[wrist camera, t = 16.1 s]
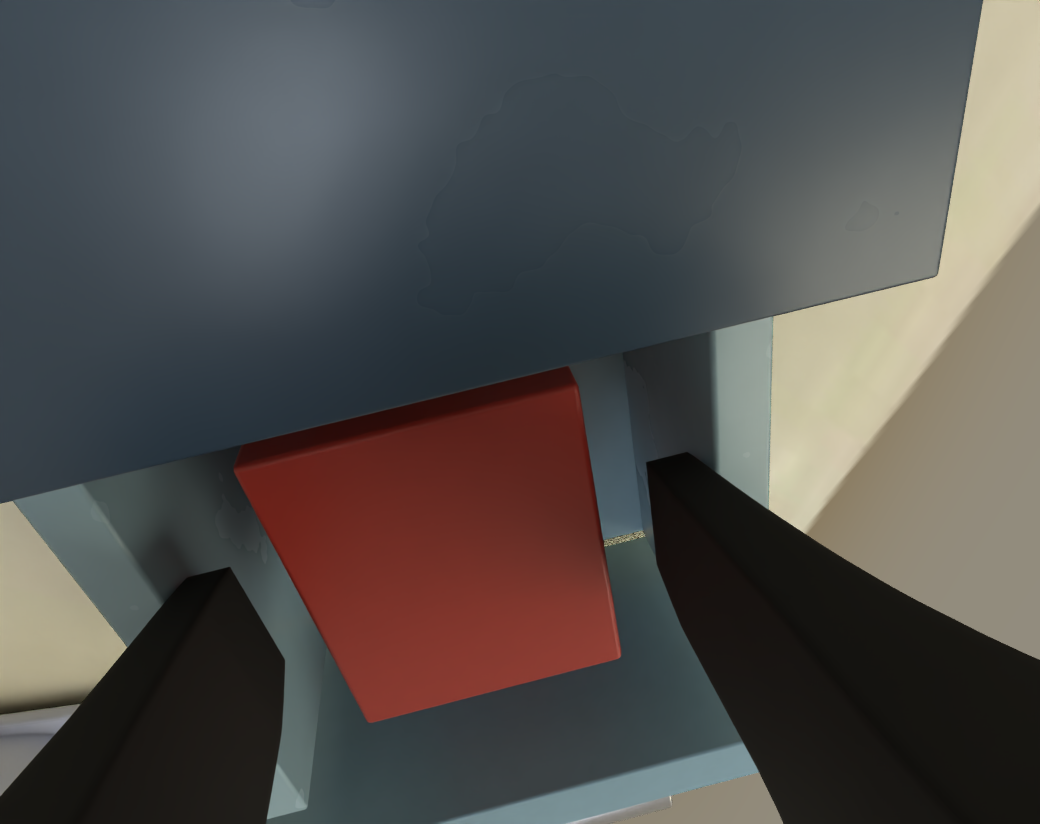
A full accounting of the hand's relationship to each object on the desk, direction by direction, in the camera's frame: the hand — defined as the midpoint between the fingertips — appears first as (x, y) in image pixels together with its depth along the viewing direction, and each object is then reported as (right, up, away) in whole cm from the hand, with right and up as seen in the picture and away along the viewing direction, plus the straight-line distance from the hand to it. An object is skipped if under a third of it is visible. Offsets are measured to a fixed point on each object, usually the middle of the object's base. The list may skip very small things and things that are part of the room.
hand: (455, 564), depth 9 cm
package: (-1, +2, +3) cm, 4 cm away
